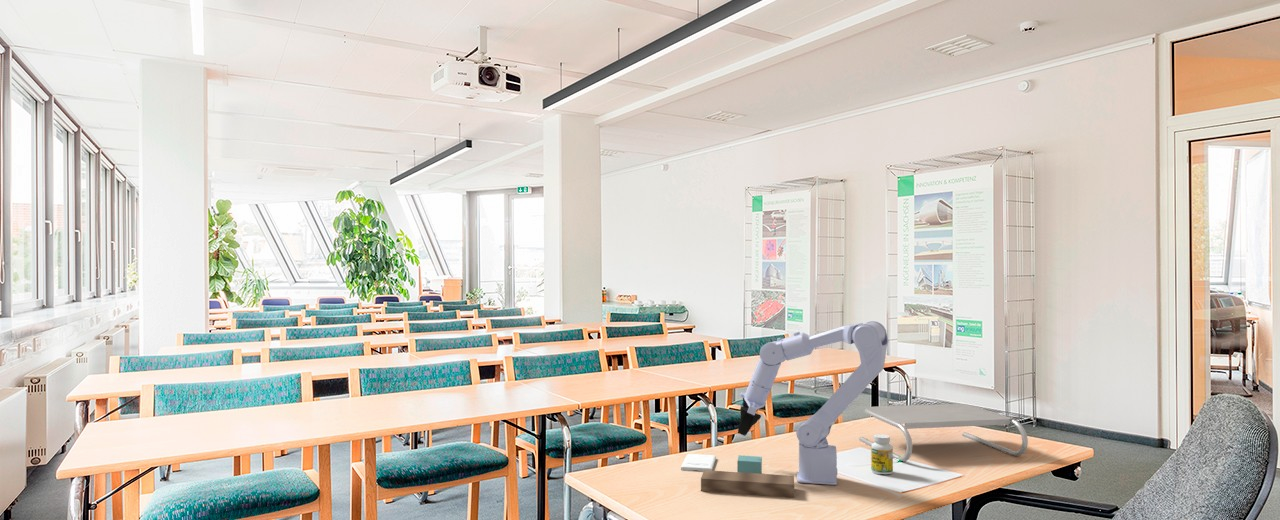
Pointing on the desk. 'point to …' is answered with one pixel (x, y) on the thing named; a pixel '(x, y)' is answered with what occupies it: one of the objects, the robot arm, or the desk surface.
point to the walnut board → (747, 483)
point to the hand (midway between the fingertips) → (742, 428)
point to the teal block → (749, 464)
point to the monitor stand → (942, 422)
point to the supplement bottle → (882, 455)
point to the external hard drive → (698, 462)
